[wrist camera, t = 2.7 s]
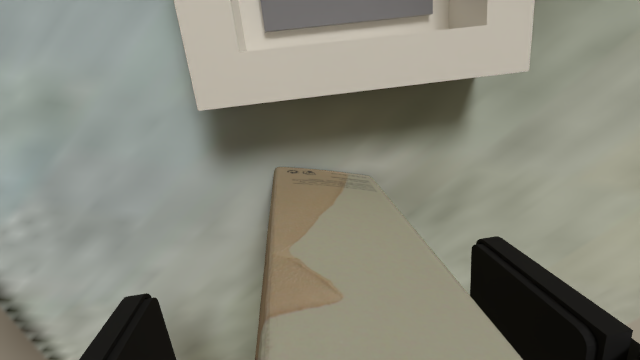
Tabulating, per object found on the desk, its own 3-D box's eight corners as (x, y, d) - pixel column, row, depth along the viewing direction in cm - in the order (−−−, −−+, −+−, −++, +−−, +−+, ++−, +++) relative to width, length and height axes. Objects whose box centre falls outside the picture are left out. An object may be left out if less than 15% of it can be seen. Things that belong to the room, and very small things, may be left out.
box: (274, 163, 14) (245, 452, 3) (374, 174, 14) (633, 445, 4) (263, 273, 15) (216, 724, 5) (353, 279, 16) (498, 688, 5)
